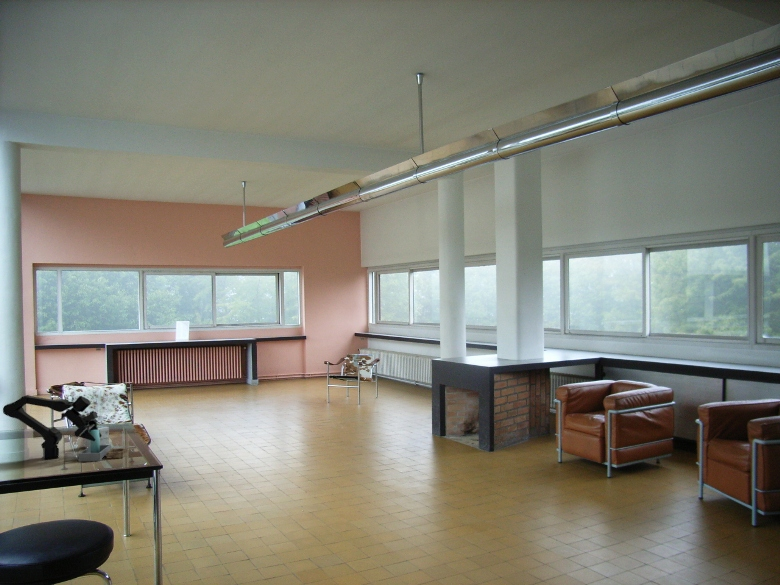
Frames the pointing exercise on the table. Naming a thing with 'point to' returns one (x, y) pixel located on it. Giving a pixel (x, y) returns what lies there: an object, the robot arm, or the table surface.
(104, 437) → the light bulb box
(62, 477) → the table surface
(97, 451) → the dowel
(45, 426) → the robot arm
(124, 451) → the socket block
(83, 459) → the tray
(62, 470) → the table surface
